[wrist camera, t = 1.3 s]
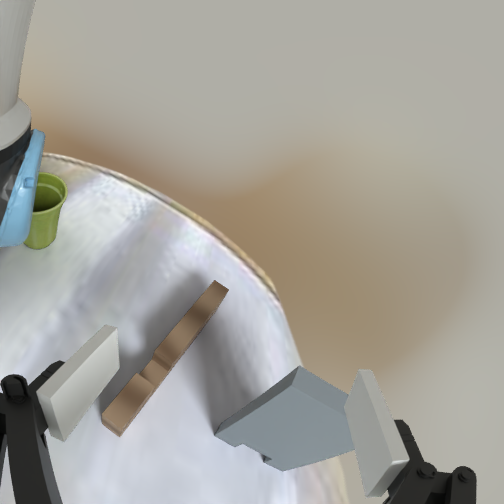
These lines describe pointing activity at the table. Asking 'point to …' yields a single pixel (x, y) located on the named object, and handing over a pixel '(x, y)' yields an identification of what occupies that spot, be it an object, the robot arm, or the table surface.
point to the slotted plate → (293, 422)
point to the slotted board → (162, 361)
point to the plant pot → (46, 210)
